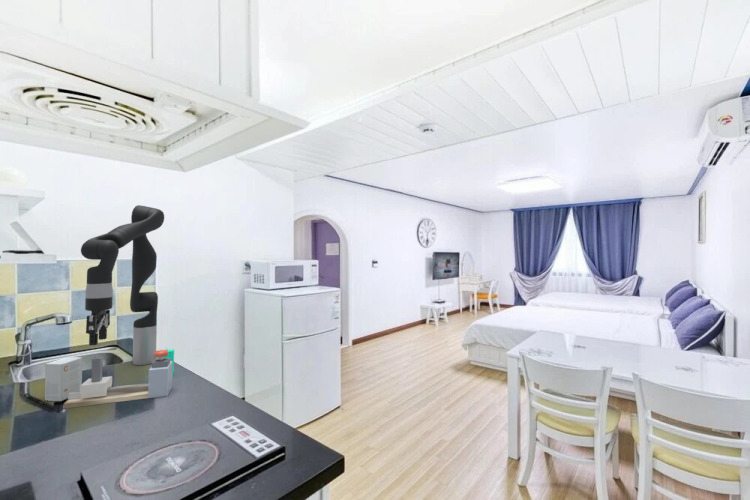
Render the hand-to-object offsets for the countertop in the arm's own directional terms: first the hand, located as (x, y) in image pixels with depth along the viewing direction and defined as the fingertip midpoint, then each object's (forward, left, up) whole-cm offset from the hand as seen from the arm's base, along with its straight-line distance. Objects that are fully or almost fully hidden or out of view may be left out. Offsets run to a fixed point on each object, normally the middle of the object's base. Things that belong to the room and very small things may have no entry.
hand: (98, 342), depth 121 cm
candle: (-20, +17, -21) cm, 33 cm away
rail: (0, +4, -20) cm, 21 cm away
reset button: (0, +19, -9) cm, 21 cm away
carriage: (0, 0, -18) cm, 18 cm away
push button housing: (0, +19, -20) cm, 28 cm away
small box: (-8, -12, -21) cm, 25 cm away
